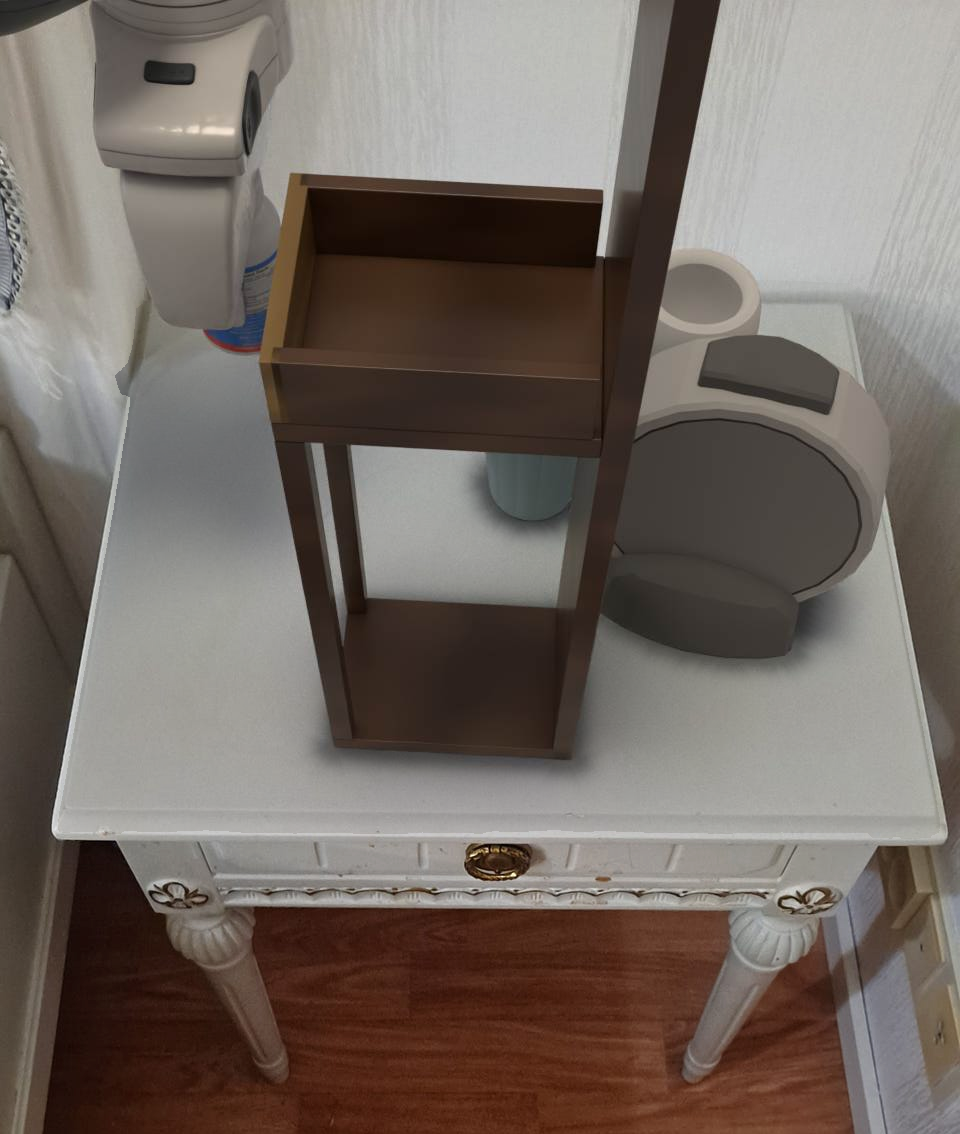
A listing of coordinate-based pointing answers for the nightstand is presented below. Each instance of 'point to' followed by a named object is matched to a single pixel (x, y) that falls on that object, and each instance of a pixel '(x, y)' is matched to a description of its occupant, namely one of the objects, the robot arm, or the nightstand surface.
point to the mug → (706, 299)
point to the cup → (530, 483)
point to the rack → (476, 399)
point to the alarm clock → (743, 494)
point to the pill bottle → (254, 281)
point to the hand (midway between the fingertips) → (238, 274)
